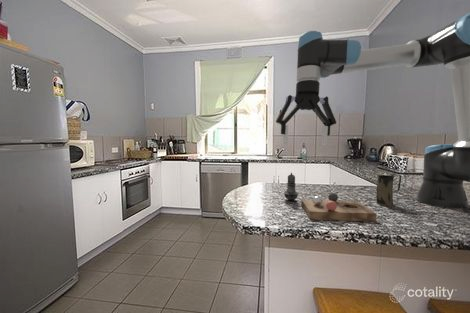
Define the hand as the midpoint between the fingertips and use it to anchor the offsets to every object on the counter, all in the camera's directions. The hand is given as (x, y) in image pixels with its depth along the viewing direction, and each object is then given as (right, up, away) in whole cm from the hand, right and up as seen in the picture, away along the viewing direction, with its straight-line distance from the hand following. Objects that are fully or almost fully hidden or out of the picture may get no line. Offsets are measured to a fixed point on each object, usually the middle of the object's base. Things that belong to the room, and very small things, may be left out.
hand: (304, 144), depth 78 cm
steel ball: (+4, -19, 0) cm, 20 cm away
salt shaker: (-1, -23, +14) cm, 27 cm away
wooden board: (+10, -24, 0) cm, 26 cm away
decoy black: (+12, -19, +5) cm, 23 cm away
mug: (+35, -23, +10) cm, 43 cm away
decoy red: (+7, -20, -6) cm, 22 cm away
